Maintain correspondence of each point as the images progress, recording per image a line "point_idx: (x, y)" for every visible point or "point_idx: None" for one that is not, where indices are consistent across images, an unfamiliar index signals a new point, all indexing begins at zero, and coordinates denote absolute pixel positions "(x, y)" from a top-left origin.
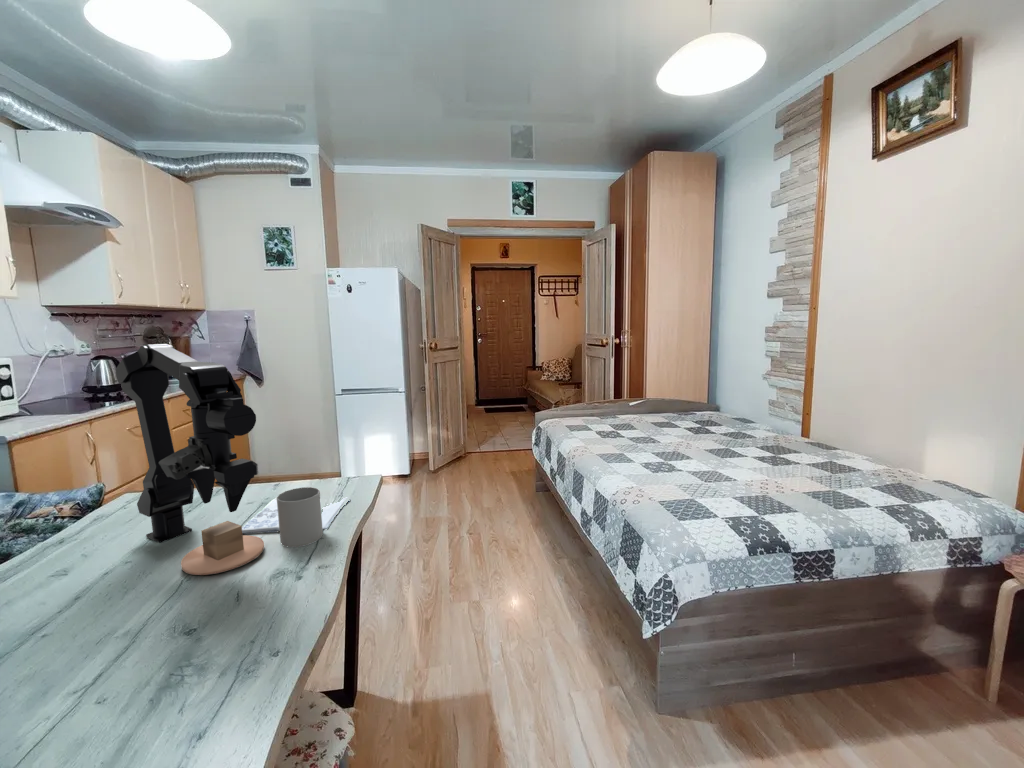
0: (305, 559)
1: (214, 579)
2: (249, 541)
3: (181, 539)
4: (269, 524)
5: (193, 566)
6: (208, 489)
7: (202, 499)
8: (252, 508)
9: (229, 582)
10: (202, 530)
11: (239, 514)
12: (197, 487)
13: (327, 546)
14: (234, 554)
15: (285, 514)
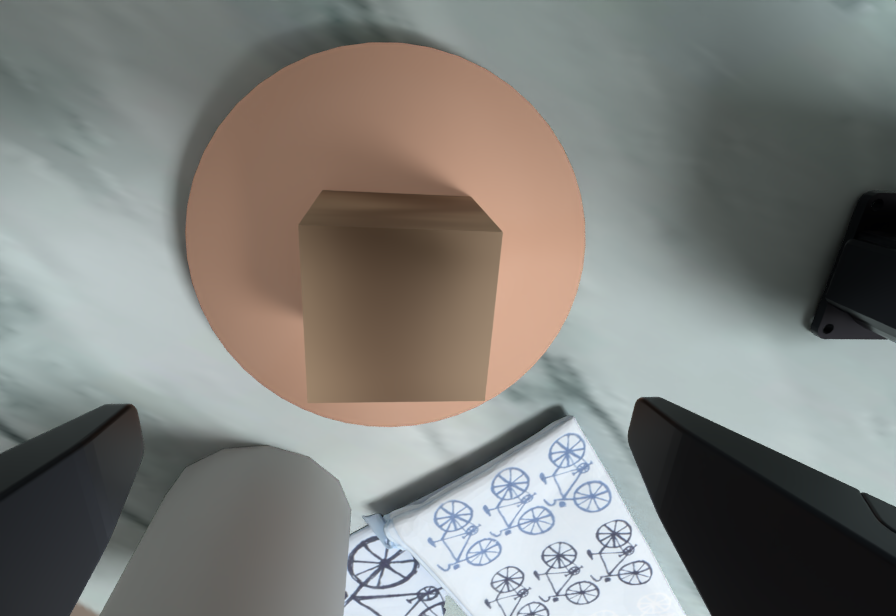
0: (19, 420)
1: (210, 95)
2: None
3: (792, 265)
4: (477, 514)
5: (378, 81)
6: (714, 549)
7: (682, 414)
8: None
9: (100, 113)
10: (493, 236)
11: None
12: (839, 506)
13: None
14: None
15: (158, 603)
